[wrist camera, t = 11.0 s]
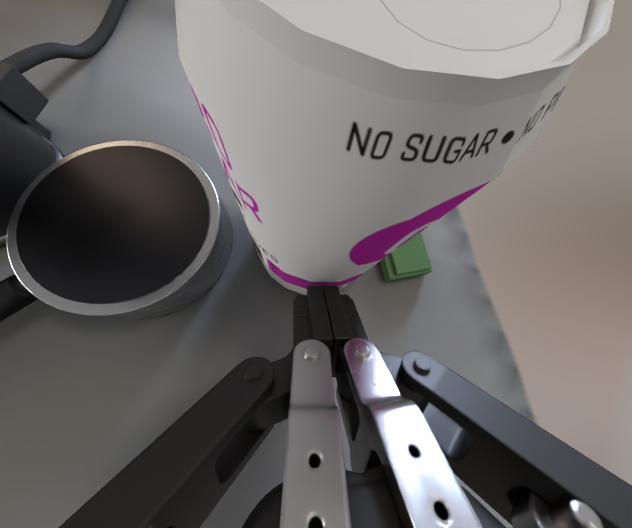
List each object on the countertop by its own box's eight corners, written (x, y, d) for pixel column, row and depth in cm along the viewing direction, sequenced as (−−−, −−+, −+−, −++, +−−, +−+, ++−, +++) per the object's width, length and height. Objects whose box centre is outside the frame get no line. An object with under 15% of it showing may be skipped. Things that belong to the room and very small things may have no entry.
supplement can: (383, 250, 19) (716, -17, 4) (306, 320, 16) (443, 266, 2) (317, 180, 20) (399, -230, 5) (236, 237, 17) (-11, -196, 3)
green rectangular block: (359, 191, 20) (364, 181, 18) (397, 187, 20) (404, 177, 19) (384, 281, 18) (392, 278, 16) (425, 274, 18) (435, 270, 17)
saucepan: (178, 150, 19) (153, 110, 15) (263, 250, 17) (257, 231, 14) (-115, 309, 14) (-254, 302, 10) (-28, 467, 12) (-153, 522, 9)
